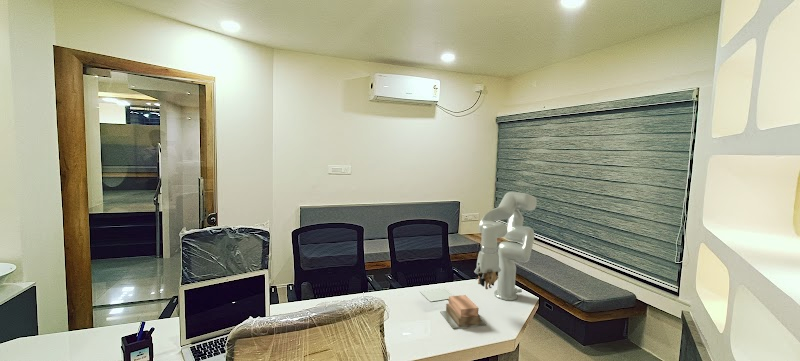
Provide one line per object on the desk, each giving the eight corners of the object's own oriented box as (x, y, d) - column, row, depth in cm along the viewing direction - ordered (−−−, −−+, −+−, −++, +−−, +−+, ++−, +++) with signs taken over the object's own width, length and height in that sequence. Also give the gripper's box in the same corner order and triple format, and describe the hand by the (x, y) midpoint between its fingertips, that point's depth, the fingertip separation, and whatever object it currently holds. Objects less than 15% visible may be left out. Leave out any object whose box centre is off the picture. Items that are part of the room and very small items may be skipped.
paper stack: (466, 306, 173) (466, 304, 173) (424, 313, 164) (424, 311, 164) (444, 288, 195) (444, 287, 195) (406, 294, 186) (406, 293, 186)
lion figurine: (499, 290, 158) (500, 272, 157) (491, 292, 156) (492, 274, 155) (478, 279, 171) (479, 262, 170) (470, 281, 168) (471, 264, 168)
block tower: (470, 309, 169) (471, 293, 168) (486, 325, 154) (487, 308, 153) (440, 312, 165) (440, 296, 164) (453, 329, 149) (453, 311, 149)
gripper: (499, 246, 166) (497, 280, 168) (469, 248, 162) (468, 283, 164) (508, 250, 159) (506, 286, 161) (476, 253, 154) (475, 289, 156)
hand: (487, 284), depth 162 cm, fingers closed on lion figurine, 4 cm apart
